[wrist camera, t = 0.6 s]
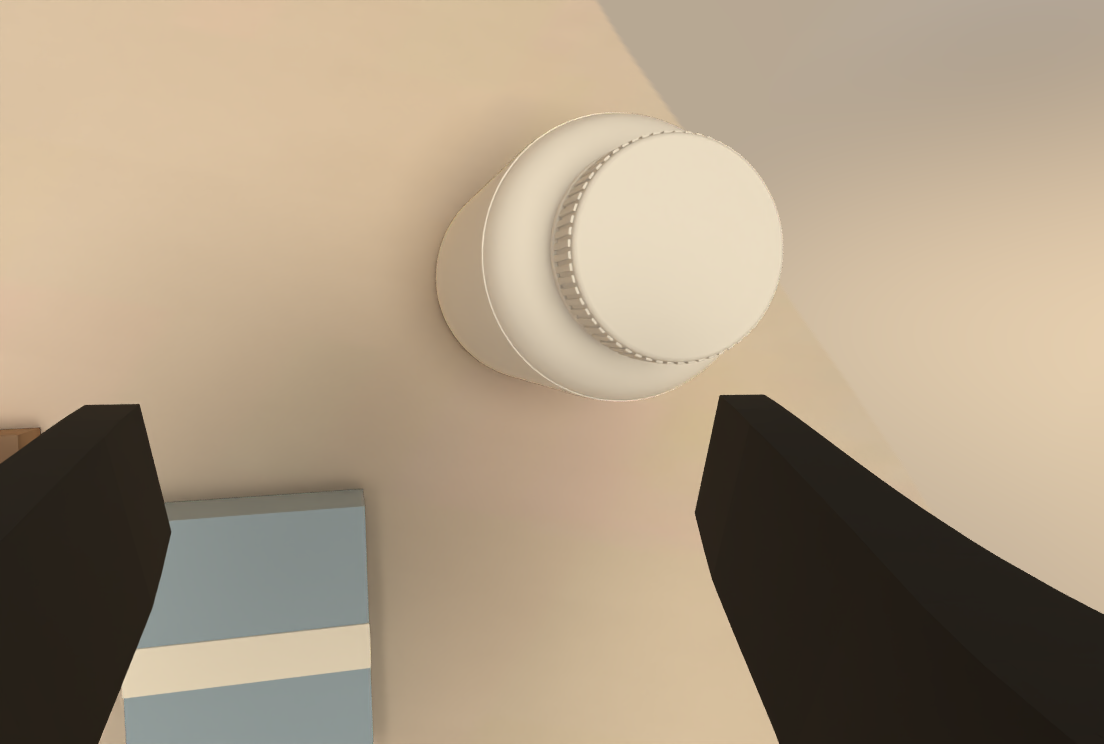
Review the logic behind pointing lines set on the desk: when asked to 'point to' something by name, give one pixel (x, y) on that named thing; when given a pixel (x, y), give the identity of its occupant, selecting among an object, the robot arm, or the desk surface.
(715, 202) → the pill bottle
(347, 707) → the carton
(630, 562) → the desk surface
